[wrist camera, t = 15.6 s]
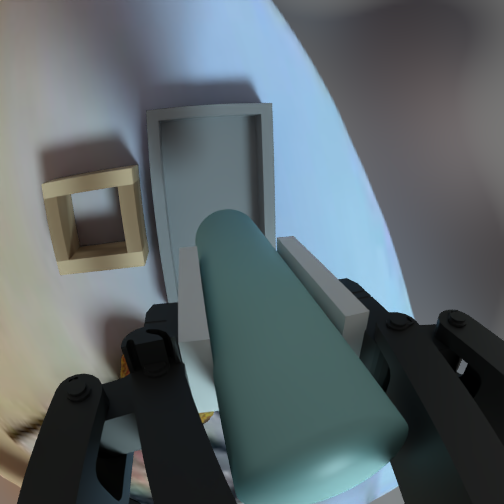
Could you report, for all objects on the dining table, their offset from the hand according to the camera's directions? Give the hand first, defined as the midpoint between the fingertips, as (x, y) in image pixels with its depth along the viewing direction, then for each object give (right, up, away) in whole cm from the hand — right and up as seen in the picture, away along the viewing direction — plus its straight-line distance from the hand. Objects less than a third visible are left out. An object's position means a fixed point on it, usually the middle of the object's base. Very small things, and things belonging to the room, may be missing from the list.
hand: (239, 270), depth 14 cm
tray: (-2, +4, +10) cm, 11 cm away
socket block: (-11, +4, +8) cm, 15 cm away
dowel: (-1, +1, +4) cm, 4 cm away
